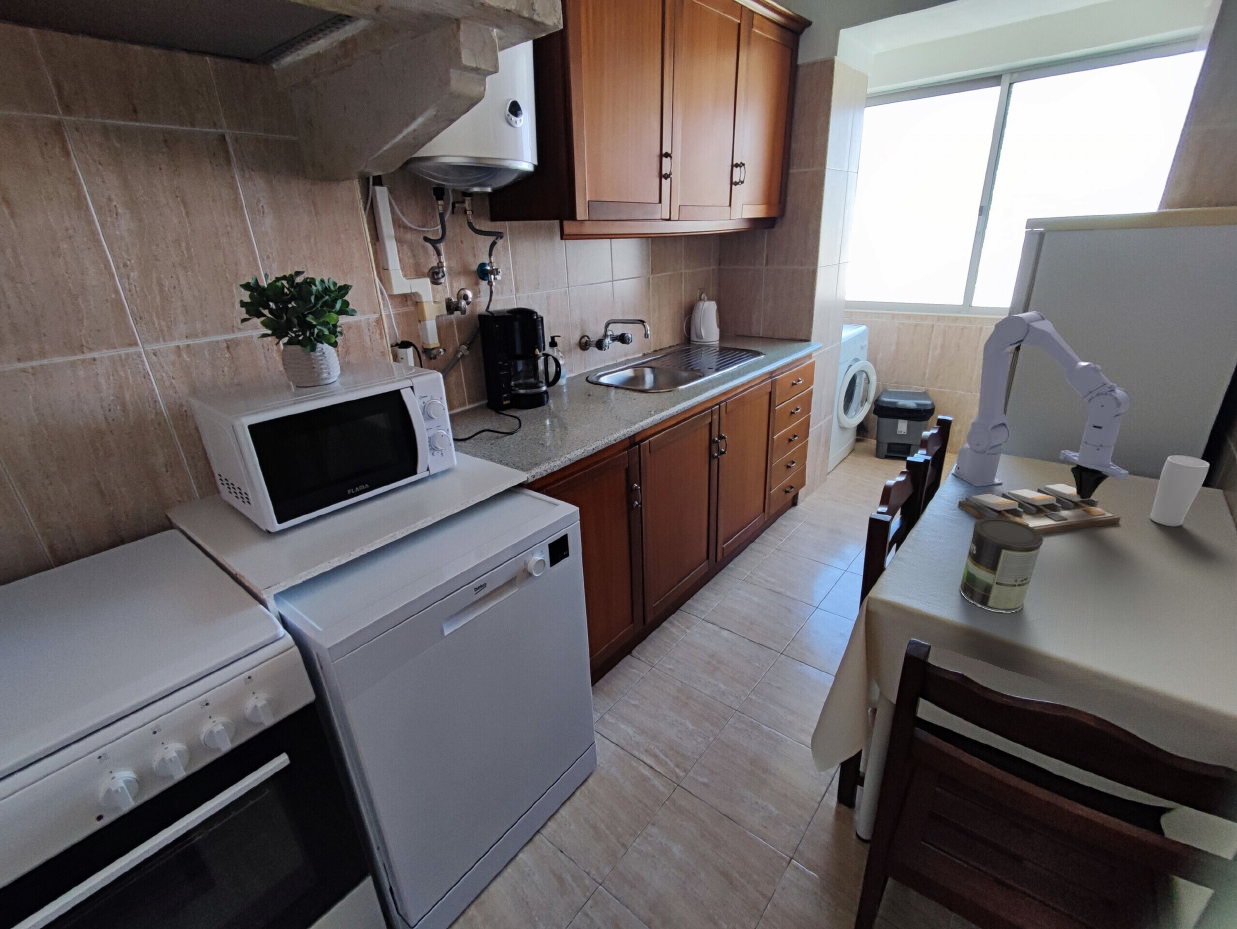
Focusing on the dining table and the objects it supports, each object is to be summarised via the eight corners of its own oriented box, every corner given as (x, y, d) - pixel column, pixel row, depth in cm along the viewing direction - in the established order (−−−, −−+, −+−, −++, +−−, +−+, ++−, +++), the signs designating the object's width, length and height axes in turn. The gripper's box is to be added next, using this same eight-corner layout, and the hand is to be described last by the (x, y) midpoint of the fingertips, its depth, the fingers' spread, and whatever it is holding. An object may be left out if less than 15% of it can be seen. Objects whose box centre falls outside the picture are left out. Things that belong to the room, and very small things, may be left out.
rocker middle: (1007, 496, 136) (1008, 490, 136) (1025, 493, 137) (1026, 488, 137) (1036, 505, 129) (1037, 499, 128) (1055, 502, 129) (1056, 497, 129)
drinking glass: (1150, 525, 125) (1173, 464, 120) (1141, 512, 131) (1162, 453, 125) (1190, 531, 122) (1215, 468, 117) (1179, 518, 128) (1203, 457, 122)
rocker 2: (1043, 490, 138) (1044, 485, 137) (1061, 488, 139) (1061, 483, 138) (1074, 501, 130) (1075, 495, 130) (1092, 498, 131) (1093, 493, 131)
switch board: (957, 506, 138) (960, 494, 136) (1056, 493, 142) (1059, 482, 140) (1010, 538, 123) (1014, 526, 122) (1118, 522, 127) (1123, 510, 126)
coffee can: (954, 600, 104) (969, 534, 99) (964, 574, 111) (979, 512, 106) (1020, 621, 98) (1040, 552, 92) (1027, 593, 105) (1046, 527, 100)
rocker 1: (971, 500, 135) (971, 495, 135) (989, 498, 136) (990, 493, 135) (998, 510, 127) (999, 504, 127) (1017, 507, 128) (1018, 502, 128)
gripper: (1146, 451, 120) (1129, 508, 124) (1083, 431, 133) (1069, 483, 138) (1118, 454, 119) (1102, 512, 123) (1057, 434, 132) (1044, 487, 137)
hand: (1083, 497), depth 131 cm, fingers closed, pressing on rocker 2
